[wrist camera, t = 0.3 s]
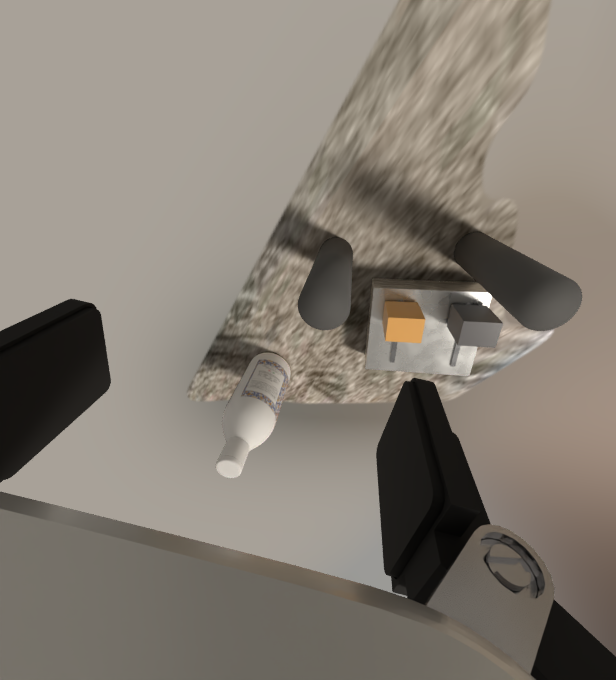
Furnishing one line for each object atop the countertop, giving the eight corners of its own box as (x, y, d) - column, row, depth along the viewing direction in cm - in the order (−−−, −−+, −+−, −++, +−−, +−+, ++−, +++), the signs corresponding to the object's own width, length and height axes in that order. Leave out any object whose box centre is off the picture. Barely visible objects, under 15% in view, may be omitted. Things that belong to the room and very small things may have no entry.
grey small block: (451, 304, 39) (463, 321, 35) (486, 305, 39) (503, 323, 34) (446, 326, 40) (457, 345, 36) (480, 327, 40) (495, 347, 36)
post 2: (458, 231, 39) (526, 275, 23) (496, 232, 39) (592, 277, 23) (450, 267, 41) (508, 329, 26) (486, 268, 41) (568, 332, 25)
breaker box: (372, 278, 43) (373, 288, 40) (481, 282, 42) (493, 293, 38) (364, 354, 49) (365, 369, 45) (460, 360, 47) (469, 377, 44)
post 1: (319, 237, 42) (297, 279, 26) (353, 237, 41) (352, 281, 25) (319, 270, 44) (298, 328, 28) (351, 271, 43) (349, 331, 27)
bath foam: (265, 392, 55) (224, 496, 38) (241, 361, 53) (184, 458, 35) (299, 376, 53) (270, 481, 35) (275, 344, 50) (232, 438, 33)
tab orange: (384, 300, 40) (388, 317, 36) (417, 302, 39) (425, 319, 35) (382, 322, 41) (385, 341, 37) (414, 324, 41) (421, 343, 37)
